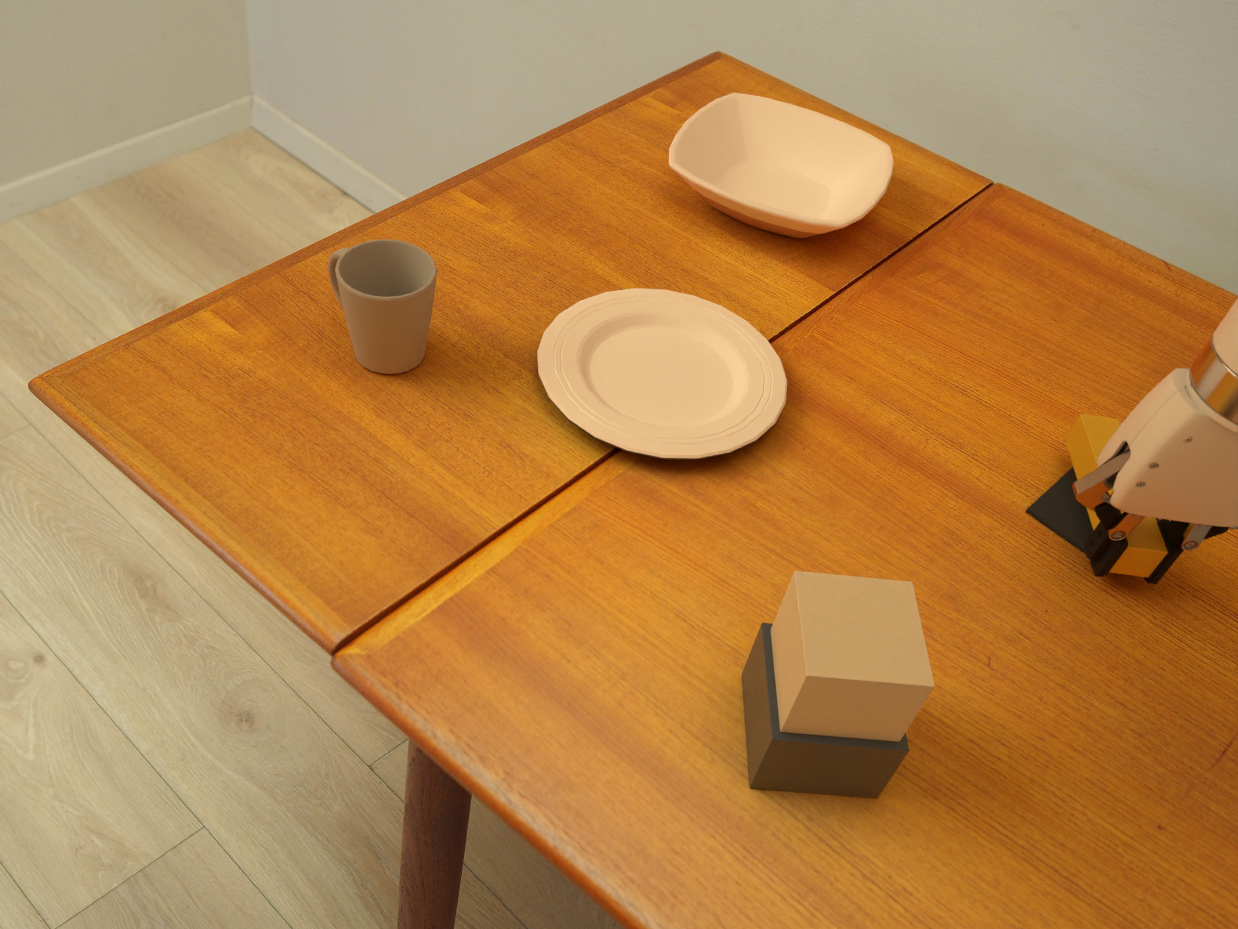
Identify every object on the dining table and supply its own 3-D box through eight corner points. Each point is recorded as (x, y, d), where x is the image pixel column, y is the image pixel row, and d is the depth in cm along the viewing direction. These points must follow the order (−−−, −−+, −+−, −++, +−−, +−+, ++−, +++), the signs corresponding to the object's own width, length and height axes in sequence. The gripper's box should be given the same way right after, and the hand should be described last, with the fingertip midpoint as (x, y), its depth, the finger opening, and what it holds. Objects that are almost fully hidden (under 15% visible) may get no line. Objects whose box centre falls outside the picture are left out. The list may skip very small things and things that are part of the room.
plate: (755, 506, 80) (760, 489, 78) (497, 426, 82) (498, 408, 81) (802, 343, 94) (807, 326, 92) (581, 279, 96) (583, 262, 95)
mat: (1162, 525, 84) (1164, 522, 83) (1115, 575, 79) (1118, 572, 79) (1074, 466, 87) (1076, 463, 87) (1025, 511, 83) (1027, 508, 82)
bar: (1064, 438, 87) (1079, 412, 85) (1101, 444, 87) (1118, 418, 85) (1106, 572, 77) (1125, 546, 75) (1148, 578, 77) (1169, 552, 75)
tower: (859, 684, 70) (919, 575, 61) (877, 798, 64) (946, 695, 56) (741, 674, 69) (784, 562, 60) (749, 788, 64) (798, 683, 55)
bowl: (840, 288, 100) (855, 242, 96) (635, 211, 105) (643, 164, 101) (896, 187, 115) (912, 143, 111) (714, 123, 119) (724, 79, 115)
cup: (390, 397, 83) (386, 312, 76) (301, 339, 86) (291, 253, 80) (456, 352, 87) (458, 268, 81) (370, 298, 91) (365, 214, 84)
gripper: (1359, 363, 68) (1209, 541, 81) (1113, 326, 68) (1002, 512, 81) (1411, 444, 63) (1242, 621, 76) (1145, 405, 62) (1021, 591, 76)
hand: (1120, 563), depth 78 cm, fingers closed on bar, 3 cm apart
